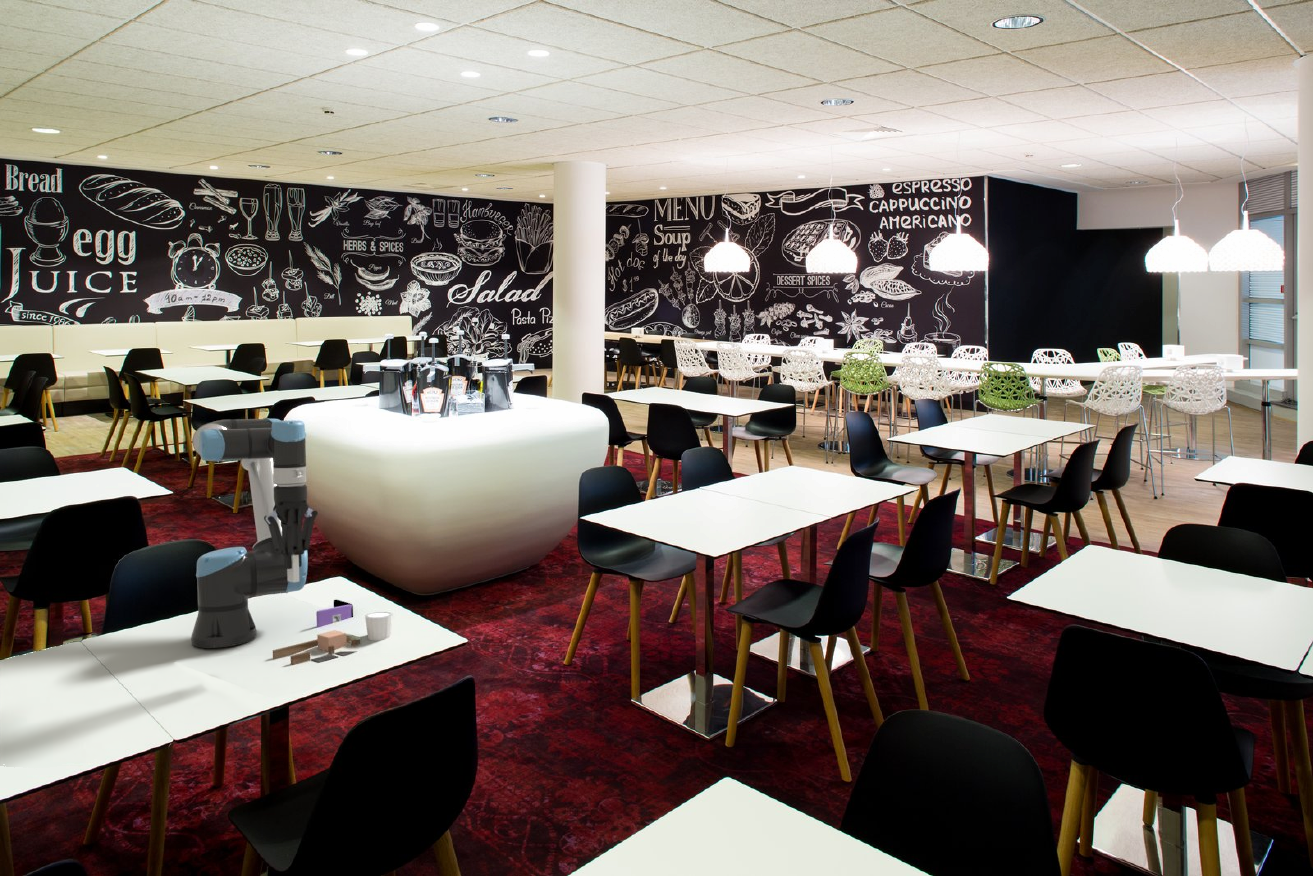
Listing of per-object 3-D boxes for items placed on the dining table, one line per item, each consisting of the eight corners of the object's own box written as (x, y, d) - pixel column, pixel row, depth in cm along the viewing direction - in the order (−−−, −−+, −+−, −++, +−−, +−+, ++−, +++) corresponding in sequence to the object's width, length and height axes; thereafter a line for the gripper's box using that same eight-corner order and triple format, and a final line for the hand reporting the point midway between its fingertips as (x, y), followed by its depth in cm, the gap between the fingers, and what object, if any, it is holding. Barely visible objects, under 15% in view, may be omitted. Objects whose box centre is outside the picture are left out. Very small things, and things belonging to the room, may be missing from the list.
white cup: (385, 645, 231) (384, 618, 231) (360, 644, 233) (359, 617, 232) (398, 638, 238) (397, 612, 238) (374, 637, 239) (373, 611, 239)
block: (317, 650, 228) (317, 634, 228) (335, 645, 232) (335, 630, 232) (329, 653, 225) (328, 637, 225) (346, 649, 229) (346, 633, 229)
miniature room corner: (359, 628, 249) (358, 603, 249) (317, 637, 241) (316, 612, 240) (338, 621, 258) (337, 597, 257) (297, 630, 249) (296, 605, 249)
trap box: (272, 658, 221) (272, 648, 221) (340, 641, 236) (339, 631, 236) (301, 667, 213) (300, 657, 213) (369, 649, 228) (368, 639, 228)
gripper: (273, 488, 212) (276, 588, 213) (323, 483, 222) (326, 578, 223) (256, 486, 216) (259, 584, 217) (306, 481, 226) (309, 574, 228)
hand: (293, 581), depth 220 cm, fingers closed
